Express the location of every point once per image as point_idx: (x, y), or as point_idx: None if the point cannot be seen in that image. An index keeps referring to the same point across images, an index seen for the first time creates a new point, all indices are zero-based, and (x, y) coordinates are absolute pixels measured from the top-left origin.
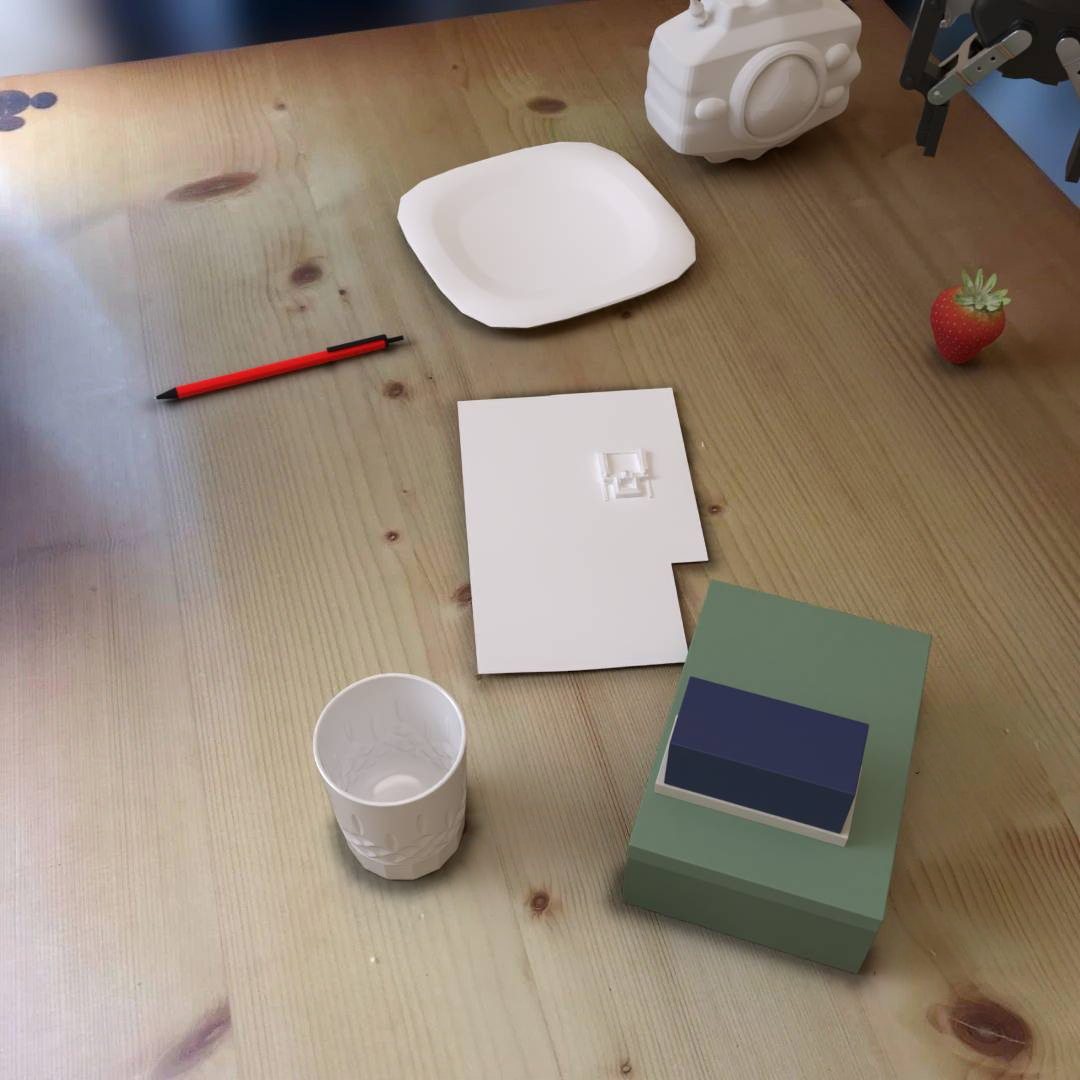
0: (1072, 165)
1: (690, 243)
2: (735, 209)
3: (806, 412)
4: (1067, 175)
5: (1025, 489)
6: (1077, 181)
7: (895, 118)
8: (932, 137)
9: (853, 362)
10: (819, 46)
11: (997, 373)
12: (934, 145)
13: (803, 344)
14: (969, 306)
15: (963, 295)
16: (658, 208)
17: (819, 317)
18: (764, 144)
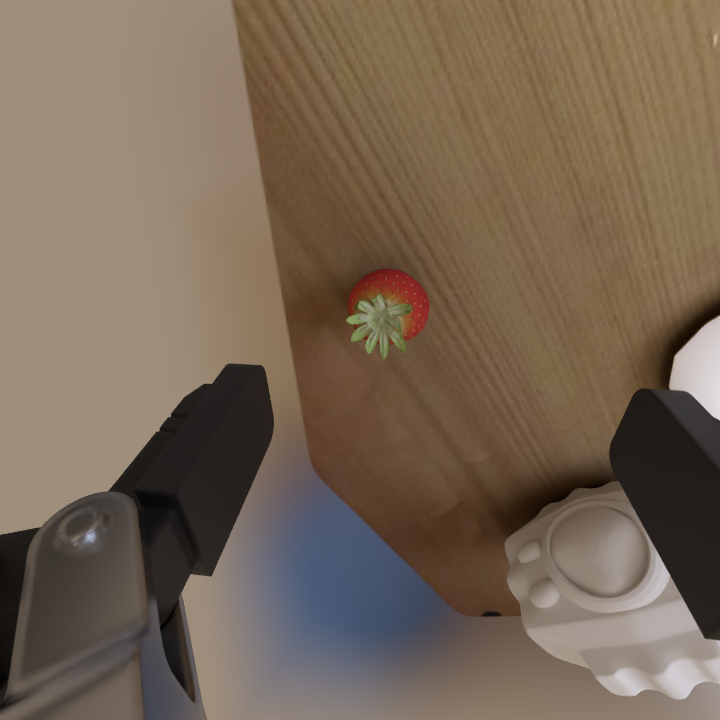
0: (237, 393)
1: (677, 377)
2: (601, 434)
3: (555, 155)
4: (256, 377)
5: (297, 97)
6: (228, 364)
7: (450, 536)
8: (717, 435)
9: (494, 256)
10: (571, 605)
11: (347, 277)
12: (681, 414)
13: (549, 270)
14: (391, 305)
15: (400, 315)
16: None
17: (528, 313)
18: (585, 500)
